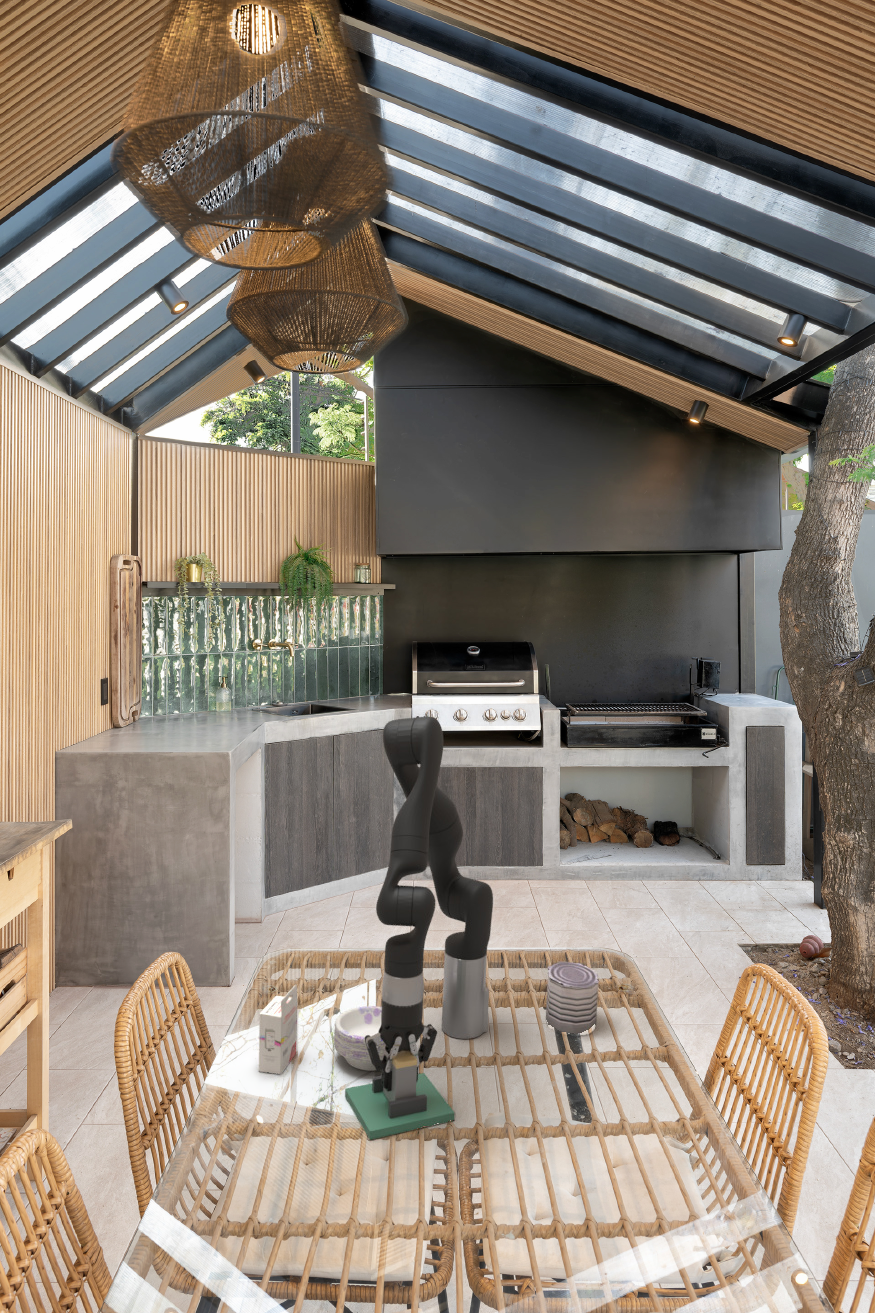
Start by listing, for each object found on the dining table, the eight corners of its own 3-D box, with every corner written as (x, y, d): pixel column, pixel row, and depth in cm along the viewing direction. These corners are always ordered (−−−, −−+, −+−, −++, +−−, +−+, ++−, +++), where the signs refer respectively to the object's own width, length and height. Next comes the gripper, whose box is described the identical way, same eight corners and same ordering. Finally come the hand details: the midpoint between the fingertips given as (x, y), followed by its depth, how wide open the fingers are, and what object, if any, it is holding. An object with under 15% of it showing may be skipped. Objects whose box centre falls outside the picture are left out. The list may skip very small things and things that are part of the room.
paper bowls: (397, 1036, 181) (398, 1000, 181) (417, 1074, 167) (419, 1034, 166) (327, 1045, 176) (328, 1008, 176) (341, 1084, 162) (342, 1043, 162)
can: (590, 1013, 196) (593, 962, 195) (601, 1037, 184) (604, 983, 184) (541, 1012, 195) (543, 961, 195) (549, 1036, 184) (551, 982, 183)
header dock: (423, 1080, 164) (424, 1060, 164) (454, 1120, 152) (455, 1099, 151) (344, 1096, 158) (345, 1075, 158) (369, 1140, 145) (370, 1117, 145)
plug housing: (403, 1088, 158) (404, 1043, 158) (415, 1105, 153) (417, 1059, 152) (383, 1092, 157) (384, 1047, 156) (394, 1109, 151) (396, 1063, 151)
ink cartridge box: (274, 1050, 174) (276, 980, 173) (296, 1053, 173) (299, 983, 172) (256, 1072, 165) (259, 998, 164) (280, 1075, 164) (283, 1001, 163)
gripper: (430, 981, 160) (427, 1069, 161) (358, 991, 154) (355, 1083, 155) (446, 997, 153) (443, 1090, 154) (372, 1009, 147) (369, 1105, 148)
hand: (399, 1086), depth 155 cm, fingers closed on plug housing, 4 cm apart
